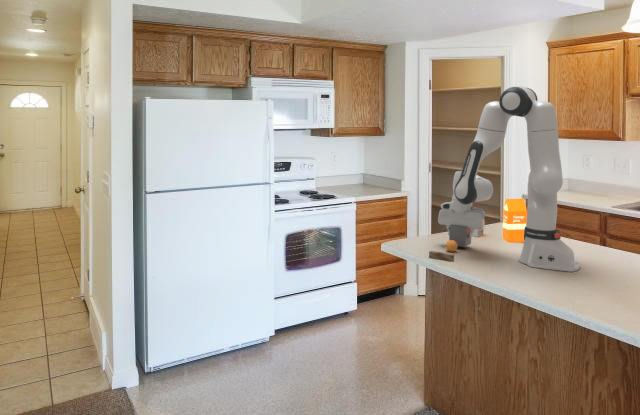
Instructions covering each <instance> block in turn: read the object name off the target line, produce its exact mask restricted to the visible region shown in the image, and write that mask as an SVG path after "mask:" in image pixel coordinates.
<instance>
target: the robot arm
mask: <svg viewBox="0 0 640 415" xmlns="http://www.w3.org/2000/svg"><path fill="white" fill-rule="evenodd" d="M515 116H516V117H521V118H524V119H525V122H526V133H527V134H526V135H527V151H528V159H529V160H528V161H529V169H530V172H529V173H528V179H527V180H528V183H527V206H526V210H527V219H526V226H525V229H524V242H523V244H522V249H521V252H520V255H519V258H518V261H519V262H520V263H522V264H525V265H527V266H528V267H529V268H535V269H536V268H537V269H545V270H554V271H562V272H569V273H570V272H572V273H573V272H577V271H578V270H580V269H581V268H580V267H581V264H580V263H579V262H578V261H575V253H574V251H573V249H572V248H571V247H570V246H568V244H566V243H565V242H564V241H563V240H561V236H562V231H561V230H560V231H559V230H558V229H557V228H556V227H557V218H558V193H559V191H560V190H561V189H562V186H563V181H564V180H563V171H562V163H561V162H562V161H561V155H560V148H559V147H560V144H559V126H558V118H557V112H556V109H555V106H554V104H553V103H552V102H549V101H545V100H544V101H543V100H541V101H540V100H539V101H538V95H537V94H536V92H535V91H534V90H533V89H531V88H530V87H526V86H511V87H509V88H506V89H505V90H504V91H502V93H501V95H500V96H499V100H498V101H496V100H495V101H489V102H488V103H486V104H485V105H484V107H483V109H482V112H481V115H480V118H479V123H478V127H477V130H476V131H477V132H476V134H475V137H474V139H473V142H472V143H471V144H470V146H469V148H468V150H467V153H466V157H465V161H464V163H463V165H462V166H463V167H462V169H459V170H457V171H455V172H454V175H453V181H452V197H451V200H450V201H447V202H443V203H441V204H440V208H441V209H440V210H439V211H438V216H437V223H438V224H439V225H444V226H445V227H446V230H447V232H448V234H447V235H448V236H449V234H450V225H458V226H466V227H468V228H471V233H470V234H468V238H471V239H472V238H473V236H472V234H473V233H474V231H475V229H483V228H485V226H486V225H485V217H486V211H485V209H483V208H482V207H476V206H473V203H479V202H484V201H485V202H486V201H489V200H490V199H491V198H492V197H493V195H494V193H495V188H494V184H493V183H492V181H491V180H490V179H488V178H484V177H482V176H480V175H478V172H479V169H480V166H481V163H482V161H483V160H484V158H486V157H487V156H488V155H489V154H491V153H493V152H494V151H497V150H498V149H499V148H500V147H501V146H502V145H503V143H504V141H505V137H506V133H507V132H506V131H507V128H508V123H509V120H510V119H511V117H515Z"/></svg>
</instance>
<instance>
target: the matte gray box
mask: <svg viewBox="0 0 640 415" xmlns="http://www.w3.org/2000/svg"><path fill="white" fill-rule="evenodd" d="M470 233H471V228H468V227H466V226H458V225H450V234H449V235H448V238H449V239H448V241H450V240H454V241H455V242H456V243H457V245H458V247H463V248H467V247H468V246H470V245H471V244H472V238H468V234H470Z"/></svg>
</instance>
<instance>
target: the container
mask: <svg viewBox="0 0 640 415" xmlns="http://www.w3.org/2000/svg"><path fill="white" fill-rule="evenodd" d="M484 228H485V227H484ZM484 228H483V229H475V231H474V233H473V234H472V237H474V238H479V237H481V236H483V235H484V231H485V230H484Z"/></svg>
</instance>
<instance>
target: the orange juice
mask: <svg viewBox="0 0 640 415" xmlns="http://www.w3.org/2000/svg"><path fill="white" fill-rule="evenodd" d="M503 205H504V206H503V207H502V208H503V209H502V239H503V240H504V241H505V242H507V243H524V229H525V226H526V219H527V206H526V201H525V198H505V201H504V204H503Z"/></svg>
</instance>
